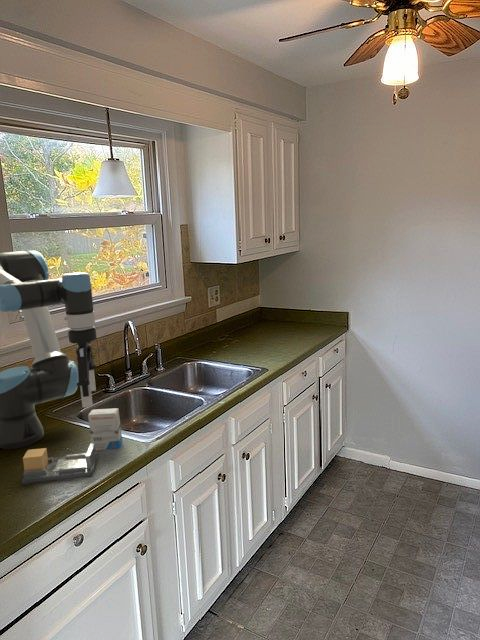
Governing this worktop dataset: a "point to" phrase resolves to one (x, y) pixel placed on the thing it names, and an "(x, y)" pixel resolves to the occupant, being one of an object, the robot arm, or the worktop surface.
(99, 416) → the ink box
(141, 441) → the worktop surface
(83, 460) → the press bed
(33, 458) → the tan wooden cube
